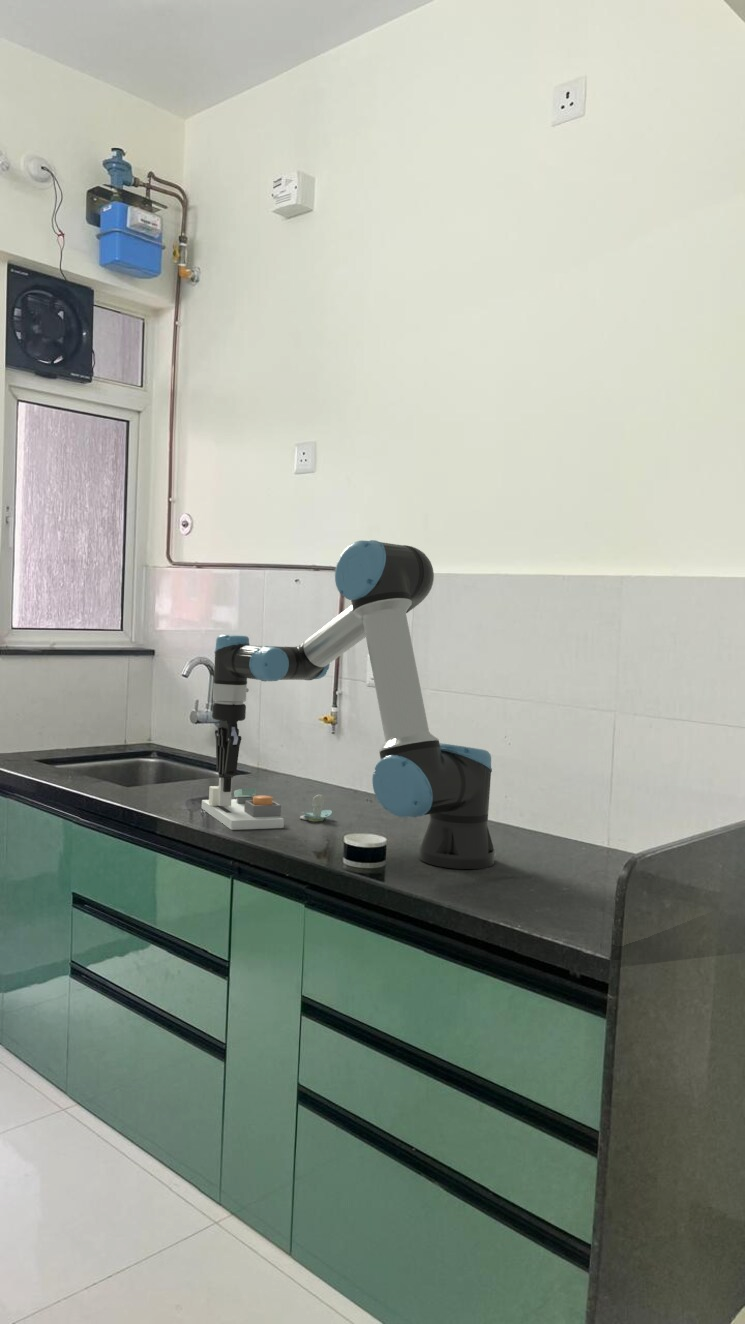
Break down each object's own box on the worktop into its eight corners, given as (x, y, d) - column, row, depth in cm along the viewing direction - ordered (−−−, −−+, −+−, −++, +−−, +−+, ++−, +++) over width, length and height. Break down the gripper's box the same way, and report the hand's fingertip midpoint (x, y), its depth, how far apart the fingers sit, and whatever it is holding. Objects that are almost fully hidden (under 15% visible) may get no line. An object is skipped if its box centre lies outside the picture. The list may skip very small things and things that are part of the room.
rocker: (256, 794, 237) (256, 788, 238) (241, 794, 236) (241, 788, 236) (248, 796, 243) (248, 790, 243) (234, 796, 241) (233, 790, 241)
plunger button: (274, 812, 227) (275, 798, 226) (256, 812, 225) (256, 799, 225) (268, 808, 231) (269, 795, 230) (250, 808, 229) (250, 795, 229)
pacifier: (294, 819, 235) (307, 823, 230) (295, 792, 235) (308, 796, 230) (320, 817, 239) (334, 821, 234) (321, 790, 239) (335, 794, 234)
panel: (284, 827, 224) (285, 807, 224) (231, 829, 219) (232, 809, 218) (250, 806, 245) (251, 788, 245) (201, 808, 240) (202, 789, 240)
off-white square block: (229, 805, 234) (229, 788, 234) (212, 805, 232) (213, 788, 232) (225, 802, 237) (226, 785, 236) (208, 803, 235) (209, 786, 235)
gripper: (254, 705, 226) (248, 810, 226) (236, 700, 237) (232, 799, 238) (221, 705, 222) (216, 811, 223) (205, 699, 234) (200, 800, 235)
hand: (224, 805), depth 231 cm, fingers closed
